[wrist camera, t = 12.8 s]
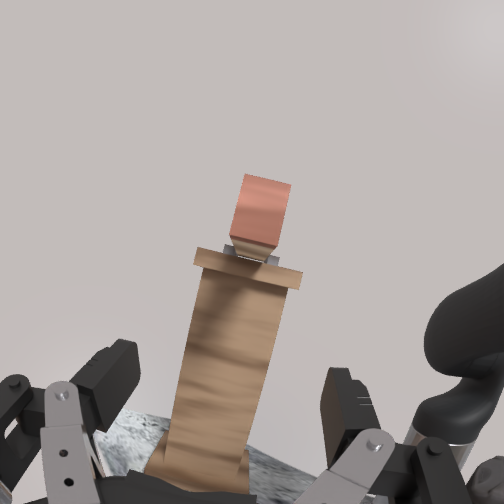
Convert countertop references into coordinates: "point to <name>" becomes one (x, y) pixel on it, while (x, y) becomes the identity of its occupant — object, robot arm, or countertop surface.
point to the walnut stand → (222, 372)
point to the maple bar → (259, 217)
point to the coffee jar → (487, 482)
